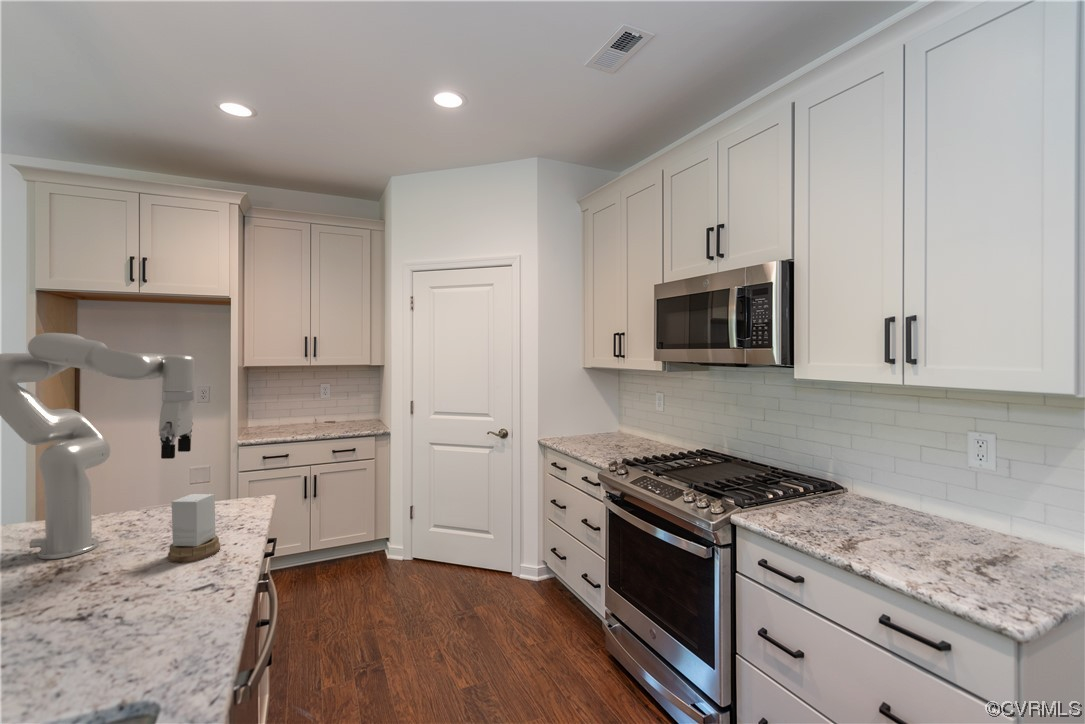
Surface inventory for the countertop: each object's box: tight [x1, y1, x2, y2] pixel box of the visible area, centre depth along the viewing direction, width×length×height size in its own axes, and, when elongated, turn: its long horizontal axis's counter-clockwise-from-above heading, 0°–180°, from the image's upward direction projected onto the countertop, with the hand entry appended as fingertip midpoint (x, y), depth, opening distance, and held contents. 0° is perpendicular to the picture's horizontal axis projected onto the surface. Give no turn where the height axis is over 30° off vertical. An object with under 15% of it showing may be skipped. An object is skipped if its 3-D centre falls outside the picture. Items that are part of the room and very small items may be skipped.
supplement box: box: [171, 493, 217, 546], centre depth 138 cm, size 7×7×13 cm
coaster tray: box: [167, 534, 221, 564], centre depth 138 cm, size 12×12×4 cm
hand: (176, 454), depth 144 cm, fingers open, 9 cm apart
